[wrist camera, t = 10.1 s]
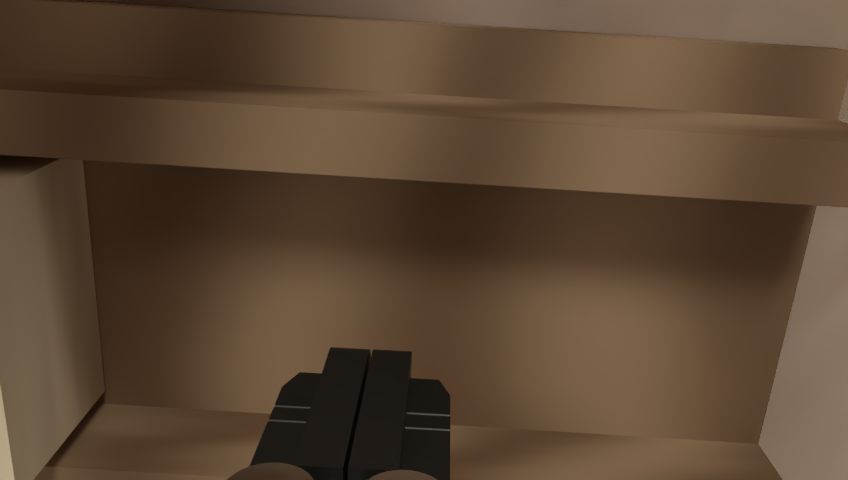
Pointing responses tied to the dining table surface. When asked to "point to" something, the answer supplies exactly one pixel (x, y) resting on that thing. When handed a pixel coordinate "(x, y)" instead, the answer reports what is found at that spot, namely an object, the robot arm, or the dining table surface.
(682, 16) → the dining table surface
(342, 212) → the chute
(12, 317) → the birch block
